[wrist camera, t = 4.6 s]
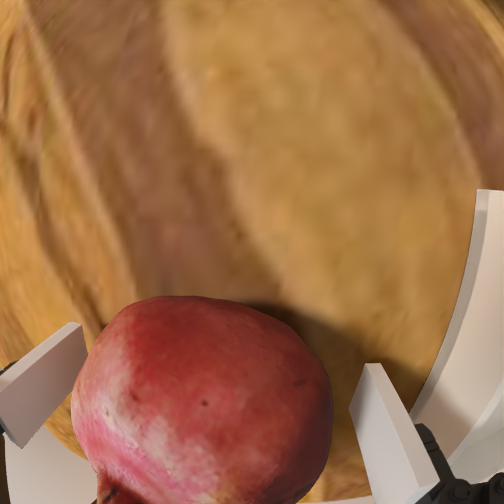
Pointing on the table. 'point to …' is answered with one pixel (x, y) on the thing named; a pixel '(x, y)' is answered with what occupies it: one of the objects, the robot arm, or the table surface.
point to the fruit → (202, 406)
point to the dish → (472, 357)
